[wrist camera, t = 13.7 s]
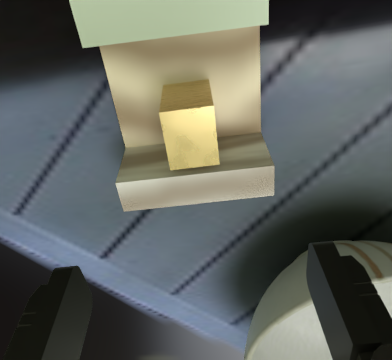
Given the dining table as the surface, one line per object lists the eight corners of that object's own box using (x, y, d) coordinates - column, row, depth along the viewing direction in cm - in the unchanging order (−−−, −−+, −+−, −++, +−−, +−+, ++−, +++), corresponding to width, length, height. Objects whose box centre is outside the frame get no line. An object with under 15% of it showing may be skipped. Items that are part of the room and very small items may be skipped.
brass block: (163, 85, 30) (158, 112, 25) (208, 78, 30) (213, 105, 25) (172, 136, 33) (170, 170, 28) (214, 131, 33) (219, 164, 28)
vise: (57, -140, 23) (10, -171, 17) (253, -169, 23) (279, -212, 16) (134, 166, 37) (123, 211, 30) (258, 152, 36) (274, 195, 30)
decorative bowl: (368, 149, 36) (438, 227, 26) (471, 269, 47) (549, 356, 37) (190, 277, 47) (191, 369, 37) (308, 351, 57) (334, 438, 47)
